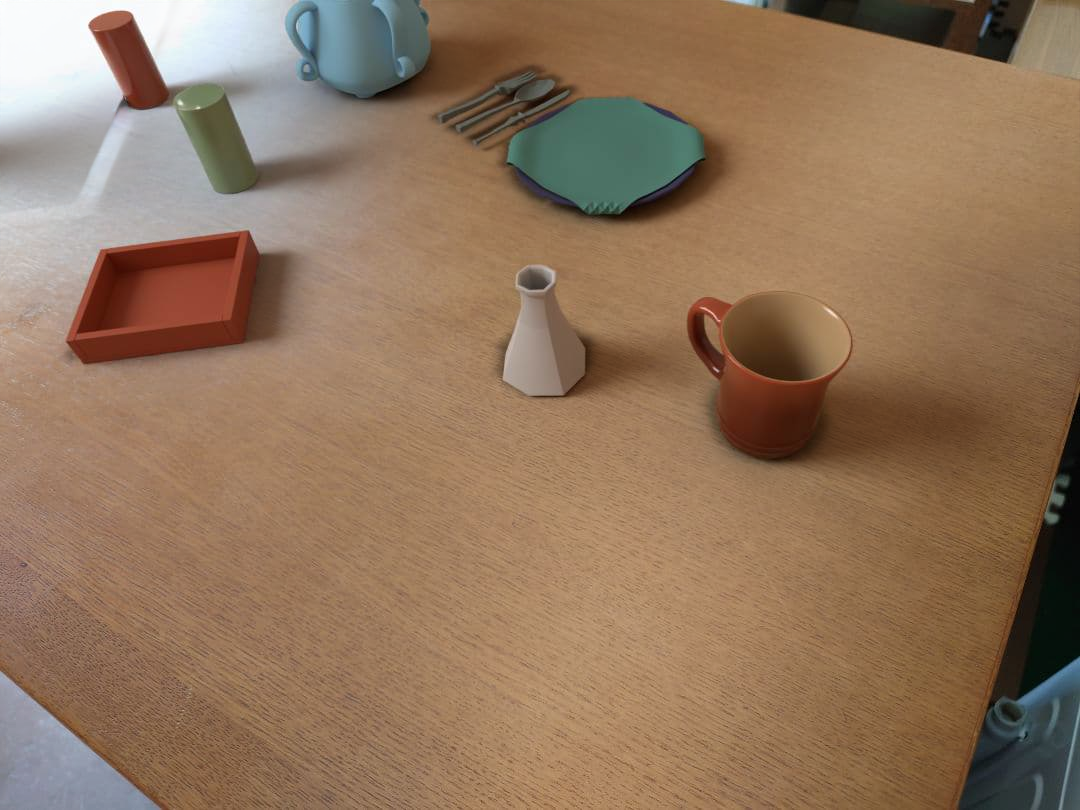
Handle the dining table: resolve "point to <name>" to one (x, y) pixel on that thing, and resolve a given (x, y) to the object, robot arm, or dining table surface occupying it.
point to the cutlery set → (593, 147)
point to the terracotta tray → (166, 297)
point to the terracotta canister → (129, 59)
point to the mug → (770, 366)
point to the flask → (542, 339)
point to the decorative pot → (359, 42)
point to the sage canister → (216, 137)
